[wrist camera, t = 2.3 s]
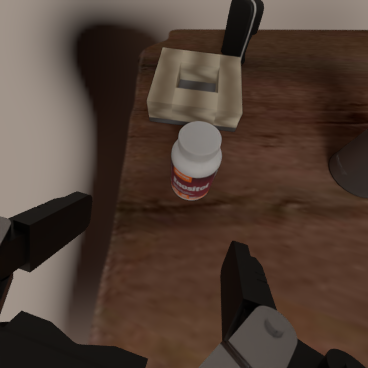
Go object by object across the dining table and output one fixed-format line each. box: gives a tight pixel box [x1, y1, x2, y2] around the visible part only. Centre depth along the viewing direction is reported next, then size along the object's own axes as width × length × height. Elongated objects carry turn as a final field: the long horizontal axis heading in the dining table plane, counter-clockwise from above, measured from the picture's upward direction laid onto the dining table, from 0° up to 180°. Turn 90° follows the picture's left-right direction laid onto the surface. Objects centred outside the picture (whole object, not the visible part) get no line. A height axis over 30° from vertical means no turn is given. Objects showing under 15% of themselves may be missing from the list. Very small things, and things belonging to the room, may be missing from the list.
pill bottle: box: [171, 121, 222, 200], centre depth 25 cm, size 6×6×11 cm
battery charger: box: [221, 0, 264, 64], centre depth 41 cm, size 7×4×11 cm, turn 28°
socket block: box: [147, 48, 242, 132], centre depth 37 cm, size 16×16×4 cm
